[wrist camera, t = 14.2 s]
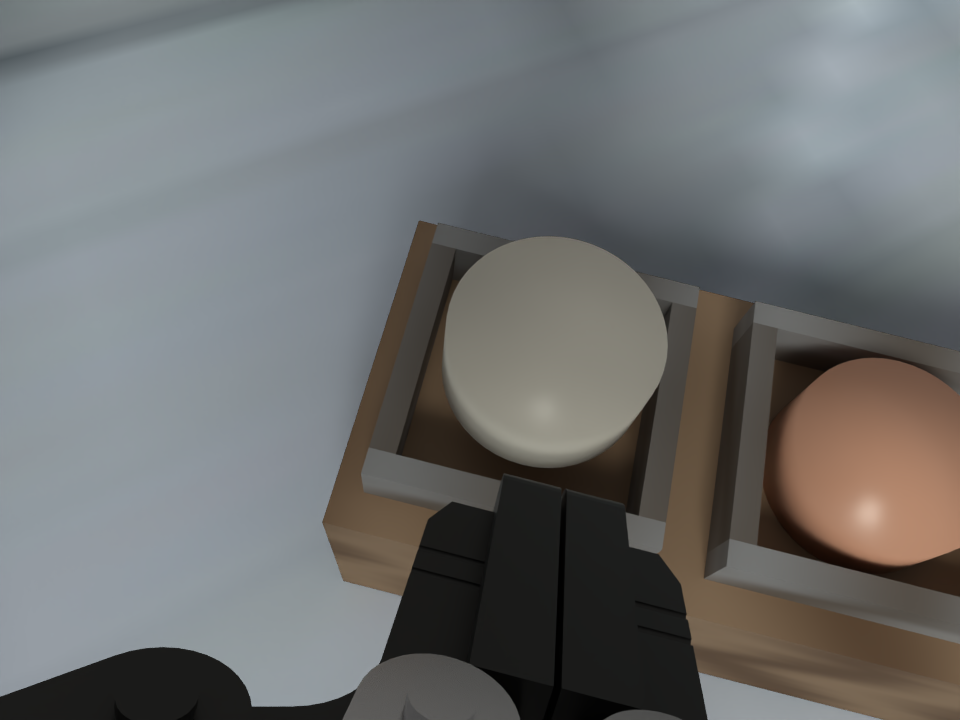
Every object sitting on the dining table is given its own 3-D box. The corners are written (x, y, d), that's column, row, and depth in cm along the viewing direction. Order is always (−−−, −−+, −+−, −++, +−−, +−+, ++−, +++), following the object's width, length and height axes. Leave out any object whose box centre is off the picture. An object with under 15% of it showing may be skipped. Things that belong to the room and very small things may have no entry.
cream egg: (418, 438, 18) (420, 405, 17) (468, 262, 20) (475, 214, 18) (625, 490, 18) (650, 462, 16) (656, 308, 20) (681, 265, 18)
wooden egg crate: (343, 580, 26) (316, 505, 18) (415, 341, 29) (420, 186, 21) (1118, 779, 25) (1457, 796, 17) (1097, 512, 29) (1370, 420, 21)
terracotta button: (751, 546, 20) (786, 526, 18) (768, 371, 22) (802, 337, 20) (945, 596, 20) (1001, 580, 18) (945, 415, 22) (995, 384, 20)
